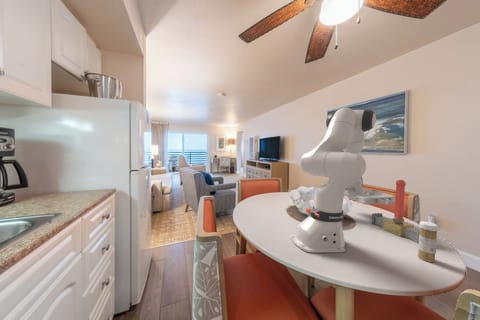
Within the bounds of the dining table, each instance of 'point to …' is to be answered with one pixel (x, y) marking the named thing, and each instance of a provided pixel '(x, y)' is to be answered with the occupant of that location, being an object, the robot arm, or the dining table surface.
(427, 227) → the sprinkles bottle
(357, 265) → the dining table surface
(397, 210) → the lever
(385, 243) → the dining table surface
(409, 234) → the valve body
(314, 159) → the robot arm
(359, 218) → the dining table surface
